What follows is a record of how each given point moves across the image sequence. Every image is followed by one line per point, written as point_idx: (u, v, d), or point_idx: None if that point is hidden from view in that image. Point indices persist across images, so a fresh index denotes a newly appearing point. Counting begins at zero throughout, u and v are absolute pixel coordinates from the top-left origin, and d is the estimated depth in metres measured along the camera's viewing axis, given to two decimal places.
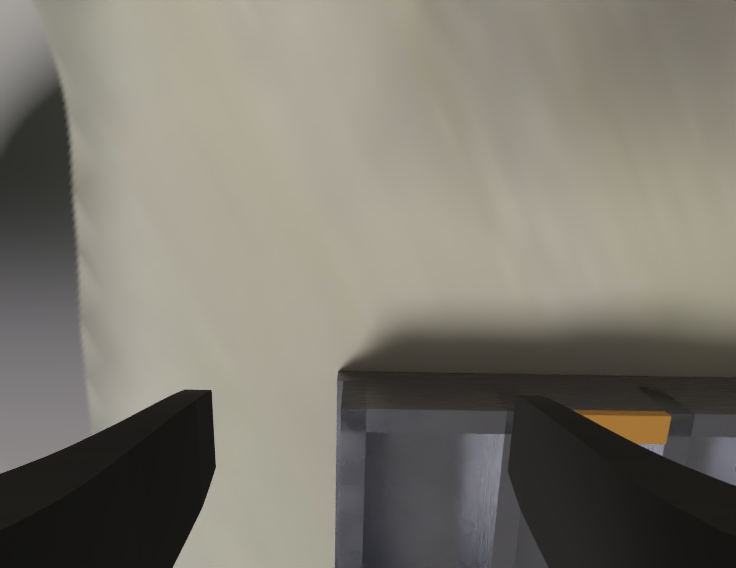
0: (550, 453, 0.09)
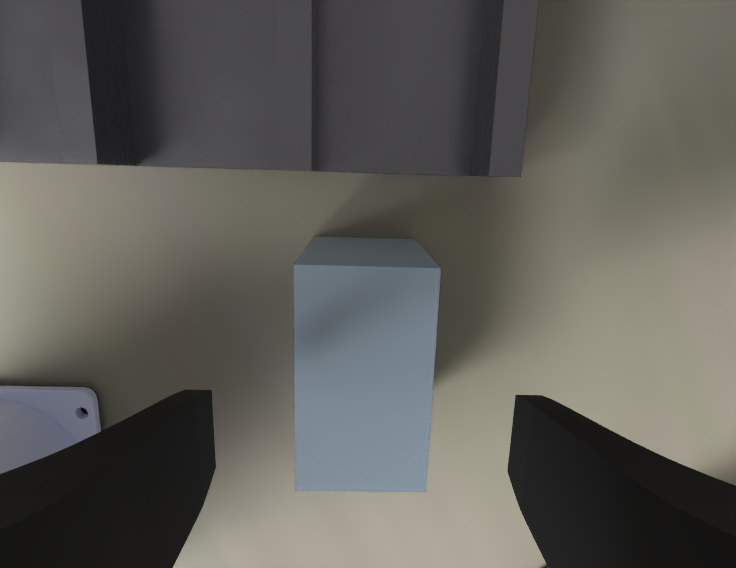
0: (549, 453, 0.09)
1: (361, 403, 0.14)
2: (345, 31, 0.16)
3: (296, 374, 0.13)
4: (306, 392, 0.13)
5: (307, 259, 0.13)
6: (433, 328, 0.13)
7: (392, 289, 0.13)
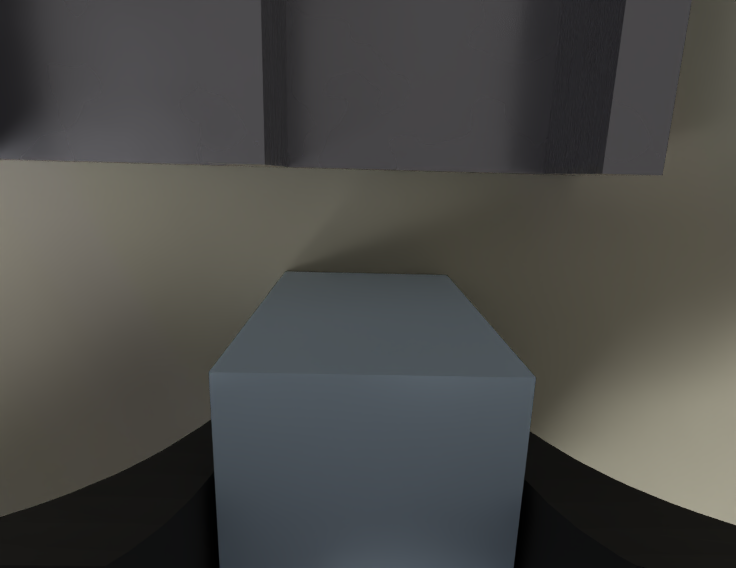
0: None
1: None
2: None
3: None
4: None
5: (247, 348, 0.06)
6: (513, 500, 0.06)
7: (427, 422, 0.06)
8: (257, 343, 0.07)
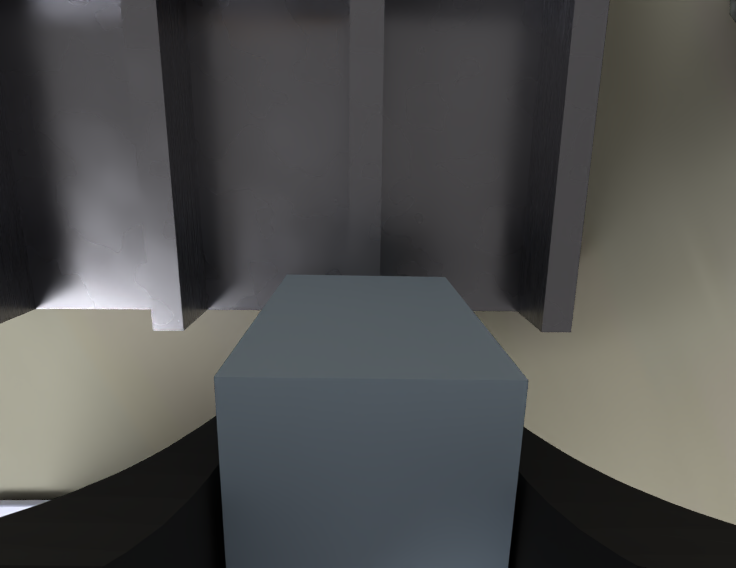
0: None
1: None
2: (402, 189, 0.17)
3: None
4: None
5: (251, 353, 0.07)
6: (507, 498, 0.06)
7: (423, 424, 0.06)
8: (260, 348, 0.07)
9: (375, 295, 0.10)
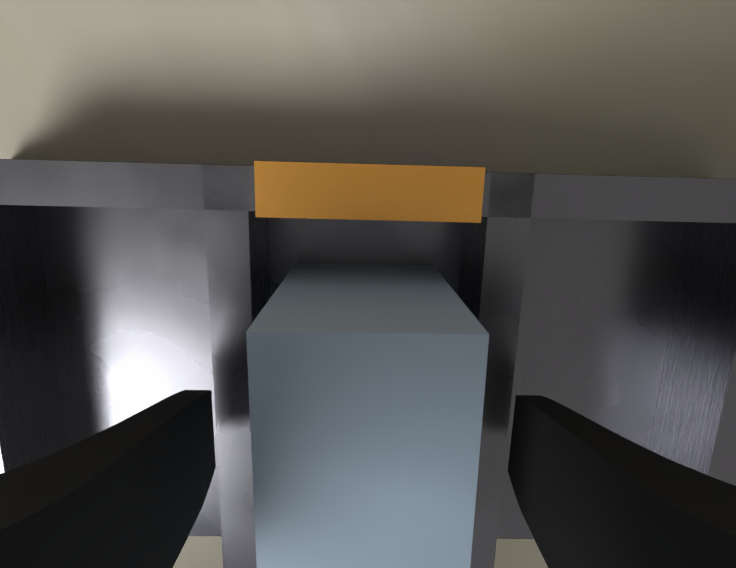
0: (550, 453, 0.09)
1: (361, 542, 0.09)
2: None
3: (257, 500, 0.08)
4: (275, 526, 0.08)
5: (272, 317, 0.08)
6: (474, 429, 0.08)
7: (409, 369, 0.08)
8: (279, 313, 0.09)
9: (372, 278, 0.12)
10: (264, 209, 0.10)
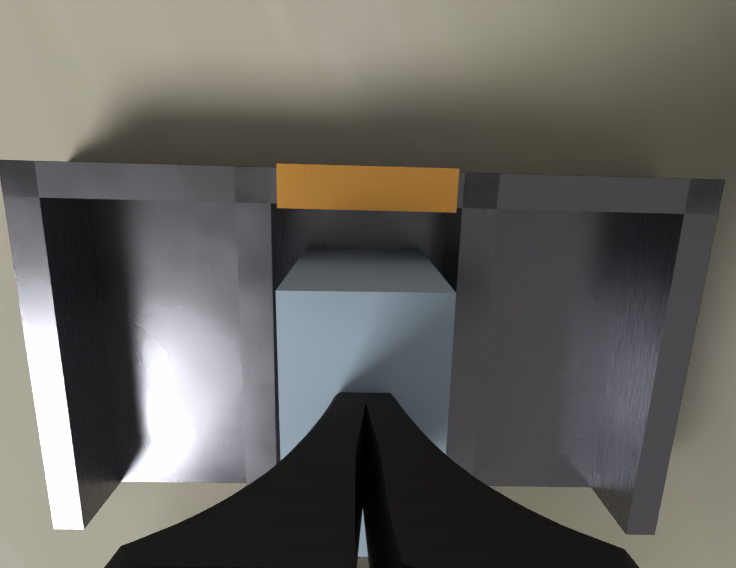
0: (369, 451, 0.09)
1: None
2: (485, 377, 0.17)
3: (282, 421, 0.11)
4: (295, 442, 0.11)
5: (293, 282, 0.11)
6: (446, 365, 0.11)
7: (396, 319, 0.10)
8: (298, 280, 0.11)
9: (369, 259, 0.14)
10: (284, 202, 0.13)
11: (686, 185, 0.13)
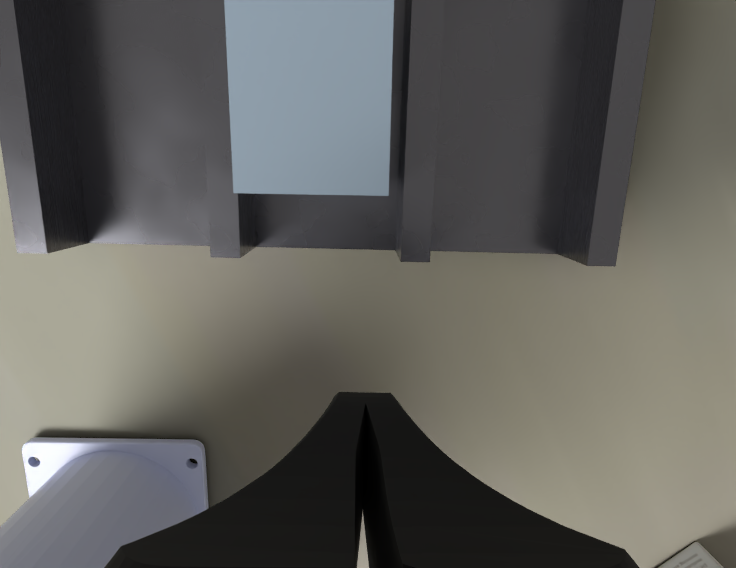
0: (369, 450, 0.09)
1: (307, 73, 0.11)
2: (450, 129, 0.17)
3: (228, 32, 0.11)
4: (242, 56, 0.11)
5: None
6: None
7: None
8: None
9: None
10: None
11: None
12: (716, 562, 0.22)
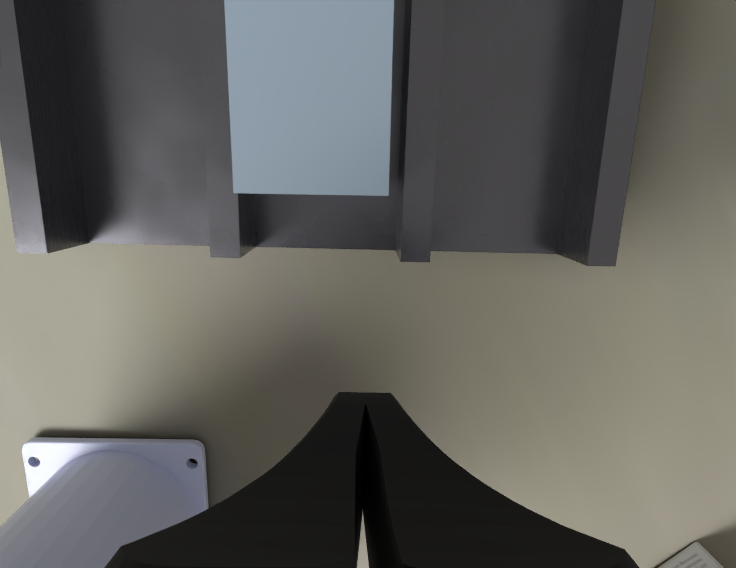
0: (369, 450, 0.09)
1: (307, 73, 0.11)
2: (450, 129, 0.17)
3: (228, 32, 0.11)
4: (242, 56, 0.11)
5: None
6: None
7: None
8: None
9: None
10: None
11: None
12: (716, 562, 0.22)
